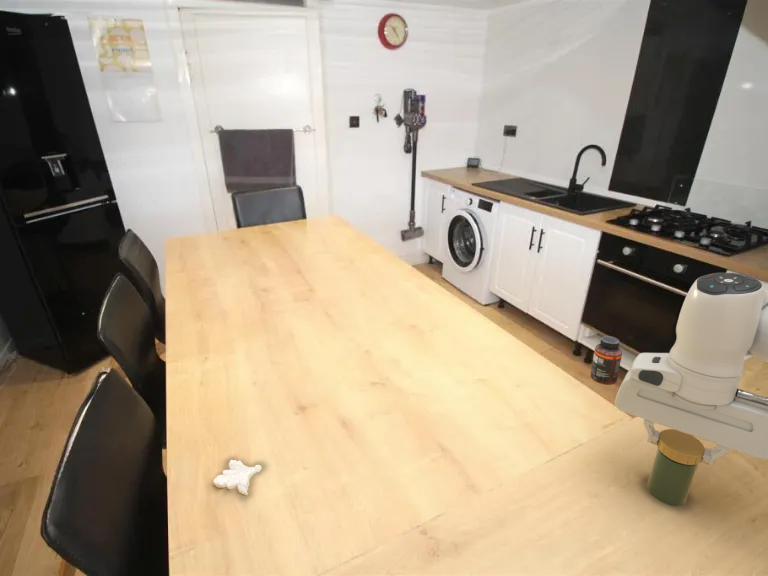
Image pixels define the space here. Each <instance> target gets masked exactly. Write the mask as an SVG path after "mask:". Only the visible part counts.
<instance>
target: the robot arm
mask: <svg viewBox="0 0 768 576" xmlns="http://www.w3.org/2000/svg"><path fill="white" fill-rule="evenodd" d="M675 335H676V340H675V342H674V344H673V346H672V347H671V348H670V350H669V352H641V353H639V354H638V355H637V356H636V357H635V358H634V360H633V362H632V364H631V367H630V369H629V370H628V371H627V372H626V374H625V376H624V377H623V380H622V381H621V384H620V386H619V388H618V391H617V393H616V396H615V399H614V405H615V407H616V408H617V410H618V411H620V412H622V413H625V414H629V415H631V416H634V417H638V418H641V419H644V420H643V426H644V428H645V430H646V432H647V433H648V436H647V440H646V442H647V443H650V444H652V445H655V446H657V444H658V440H659V435H660V432H661V431H659V430H656V428H655V426H654V424H657V425H661V426H663V427H666V428H668V429H674V430H677V431H680V432H683V433H686V434H689V435H692V436H694V437H695V438H697V439H702V440H703V441H706V442H709V443H712V444H715V446H714V447H713V448H711V449H710V448H707V447H704V448H705V451H704V454H703V457H702V460H701V463H704V464H706V465H708V466H711V467H713V465H714V464H715V460H716V459H718V458H720V457H722V456H724V455H726V454H728V452H729V450H732V451H735V452H738V453H741V454H743V455H746V456H749V457H752V458H755V459H758V460H762V461H764V460H767V459H768V396H763V395H759V394H757V393H753V392H751V391H747V390H744V389H741V388H739V385H740V383H741V379H742V376H743V373H744V370H745V369H744V368H745V366H744V360H745V359H744V358H745V357H749V356H751V357H752V358H754V359H757V360H759V361H761V362H763V363H765V364H768V289H766V288H764V285H763V283H762V282H761V281H760V280H758V279H757V278H755V277H753V276H750V275H746V274H742V273H736V272H713V273H708V274H704V275H702V276H700V277H698V278H697V279H695V280H694V282H693V283H692V285H691V286H690V288H689V290H688V291H687V294H686V296H685V298H684V301H683V303H682V306H681V308H680V312H679V315H678V319H677V322H676V327H675Z"/></svg>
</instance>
